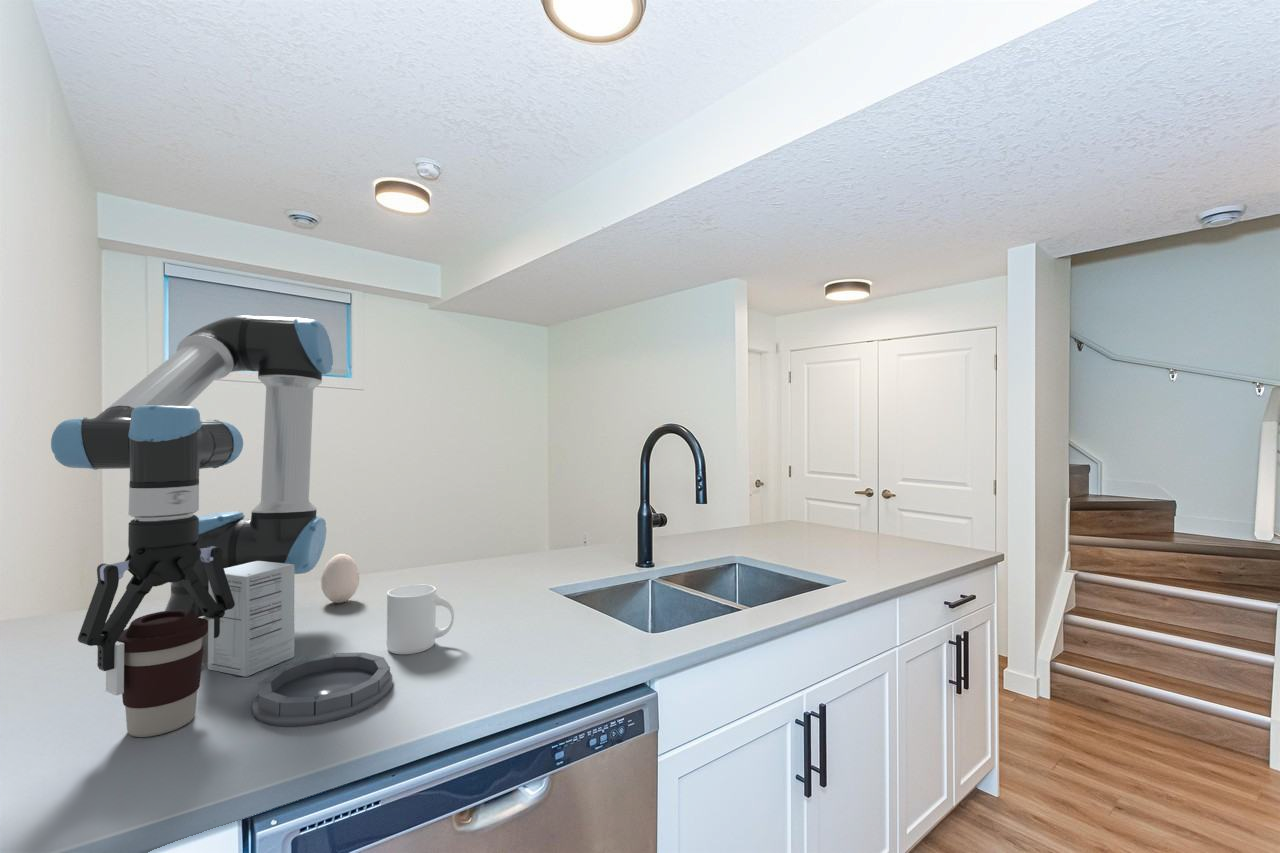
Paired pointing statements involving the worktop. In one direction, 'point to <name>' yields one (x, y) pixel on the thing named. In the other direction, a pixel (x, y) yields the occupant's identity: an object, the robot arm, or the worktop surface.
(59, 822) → the worktop surface
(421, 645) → the mug
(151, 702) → the coffee cup
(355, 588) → the egg
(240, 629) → the supplement box
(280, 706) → the bowl
